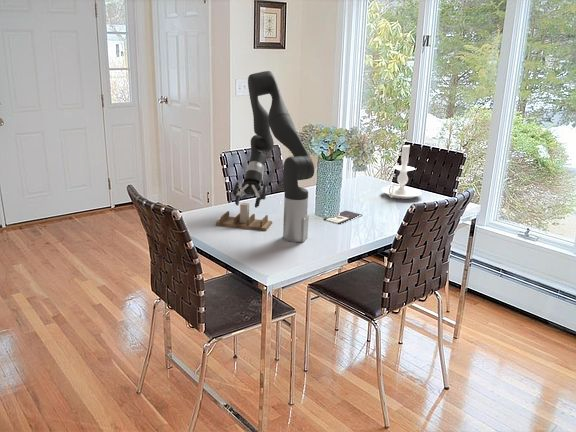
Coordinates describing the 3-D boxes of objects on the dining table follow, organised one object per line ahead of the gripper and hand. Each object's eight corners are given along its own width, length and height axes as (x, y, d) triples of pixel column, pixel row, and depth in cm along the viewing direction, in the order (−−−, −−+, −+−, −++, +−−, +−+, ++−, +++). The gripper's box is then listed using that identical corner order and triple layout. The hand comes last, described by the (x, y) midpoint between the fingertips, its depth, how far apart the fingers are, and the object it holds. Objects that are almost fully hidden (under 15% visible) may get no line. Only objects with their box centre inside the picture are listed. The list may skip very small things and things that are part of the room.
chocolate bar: (362, 214, 243) (340, 223, 230) (362, 216, 243) (340, 225, 230) (345, 210, 248) (323, 218, 235) (345, 212, 249) (323, 220, 235)
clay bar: (248, 221, 226) (249, 203, 223) (246, 223, 223) (247, 205, 220) (242, 220, 226) (242, 202, 224) (240, 222, 224) (240, 204, 221)
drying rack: (272, 223, 227) (272, 215, 226) (266, 230, 218) (266, 222, 217) (223, 218, 232) (223, 210, 231) (215, 225, 223) (215, 216, 221)
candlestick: (369, 198, 273) (374, 144, 264) (392, 189, 291) (397, 139, 283) (406, 206, 261) (412, 150, 252) (427, 197, 279) (433, 144, 271)
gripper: (237, 167, 231) (228, 199, 224) (268, 170, 228) (260, 203, 221) (240, 176, 238) (232, 208, 230) (271, 179, 235) (263, 211, 228)
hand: (246, 205), depth 226 cm, fingers open, 8 cm apart
